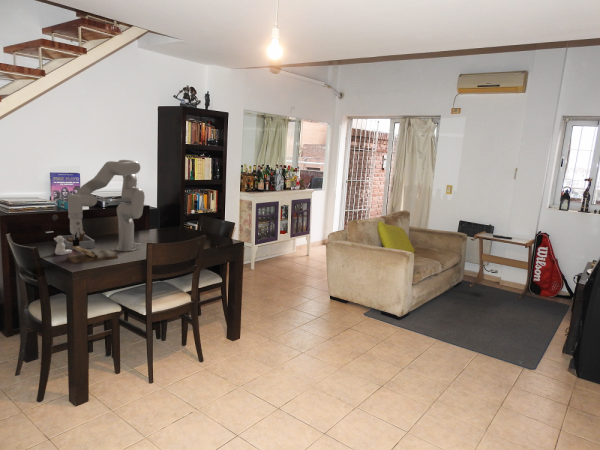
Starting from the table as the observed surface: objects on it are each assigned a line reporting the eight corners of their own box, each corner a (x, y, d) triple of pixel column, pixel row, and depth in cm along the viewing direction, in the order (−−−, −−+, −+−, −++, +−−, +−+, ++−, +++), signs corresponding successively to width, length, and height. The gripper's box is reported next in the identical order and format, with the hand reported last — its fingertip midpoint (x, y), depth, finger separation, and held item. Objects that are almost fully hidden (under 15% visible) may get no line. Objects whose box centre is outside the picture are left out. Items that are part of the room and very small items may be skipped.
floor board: (110, 253, 277) (110, 248, 277) (117, 258, 267) (117, 253, 267) (67, 258, 261) (67, 253, 260) (73, 263, 251) (73, 258, 250)
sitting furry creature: (72, 252, 274) (72, 234, 272) (65, 256, 265) (65, 237, 263) (57, 252, 273) (56, 233, 271) (50, 255, 265) (49, 236, 263)
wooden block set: (68, 251, 285) (72, 238, 282) (60, 244, 288) (64, 231, 285) (92, 247, 301) (96, 235, 298) (84, 241, 304) (88, 229, 301)
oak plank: (88, 253, 267) (89, 250, 268) (94, 257, 259) (95, 255, 259) (71, 246, 260) (72, 243, 260) (76, 250, 251) (77, 247, 252)
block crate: (84, 241, 307) (84, 234, 307) (94, 247, 290) (94, 240, 289) (59, 243, 297) (59, 236, 296) (68, 250, 279) (68, 242, 278)
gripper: (86, 217, 251) (86, 247, 253) (78, 213, 261) (79, 243, 264) (71, 217, 246) (72, 249, 248) (65, 214, 257) (65, 244, 259)
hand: (76, 245), depth 256 cm, fingers closed
